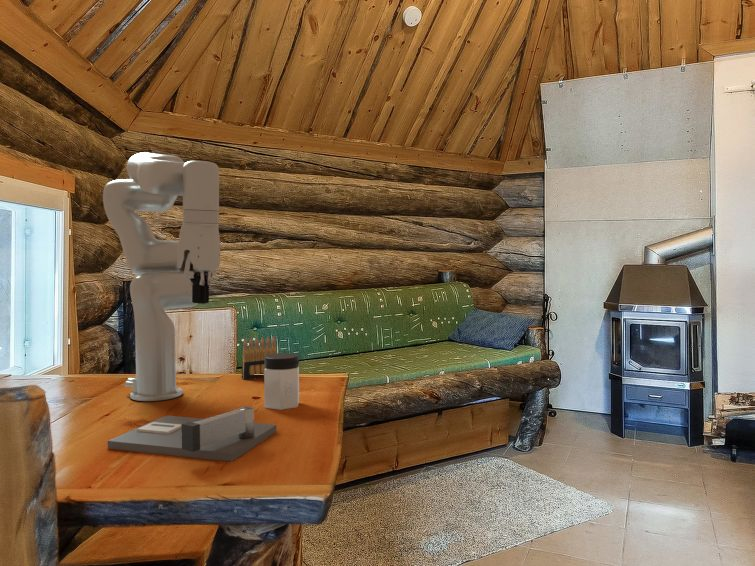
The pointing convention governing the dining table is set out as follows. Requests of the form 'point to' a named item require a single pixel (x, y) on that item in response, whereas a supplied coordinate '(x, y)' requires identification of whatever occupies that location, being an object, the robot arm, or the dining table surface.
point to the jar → (281, 381)
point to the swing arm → (218, 428)
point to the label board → (168, 440)
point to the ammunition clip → (256, 357)
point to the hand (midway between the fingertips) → (200, 302)
